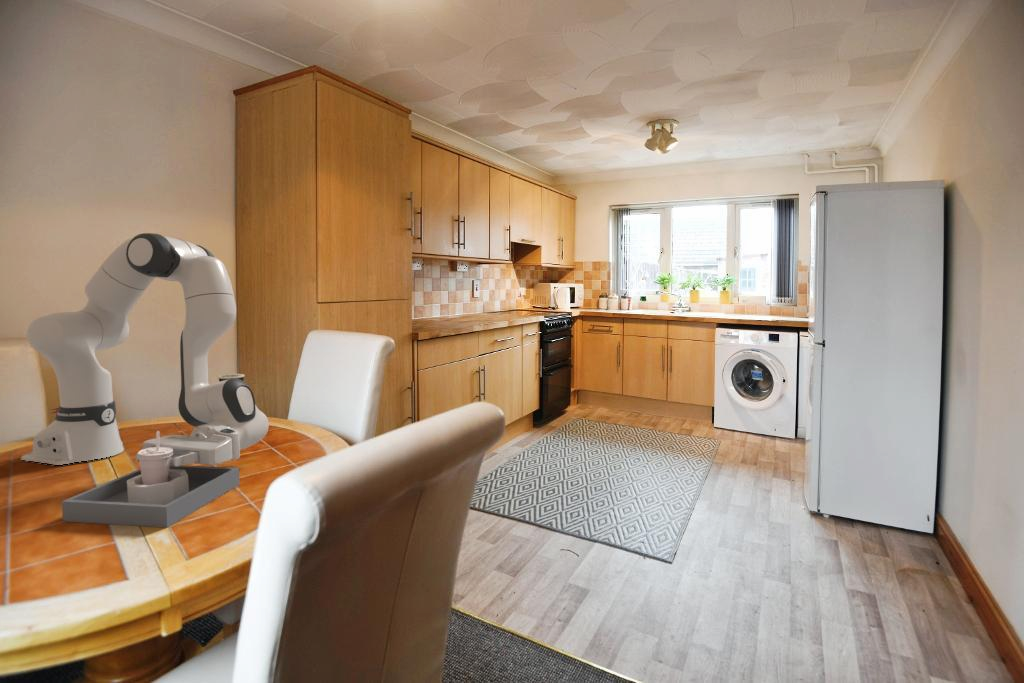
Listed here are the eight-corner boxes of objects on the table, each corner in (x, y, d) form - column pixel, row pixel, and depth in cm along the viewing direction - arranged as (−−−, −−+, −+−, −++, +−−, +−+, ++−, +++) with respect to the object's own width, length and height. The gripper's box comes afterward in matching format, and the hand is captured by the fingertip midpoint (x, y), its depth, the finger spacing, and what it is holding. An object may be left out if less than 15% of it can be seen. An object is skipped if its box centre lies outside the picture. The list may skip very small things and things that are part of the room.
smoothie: (154, 502, 107) (155, 436, 106) (128, 498, 109) (129, 432, 108) (179, 491, 114) (181, 429, 113) (155, 487, 115) (156, 425, 114)
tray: (63, 521, 101) (61, 495, 100) (152, 480, 123) (151, 458, 122) (167, 527, 99) (165, 501, 98) (239, 484, 120) (238, 462, 120)
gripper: (174, 425, 125) (117, 441, 112) (244, 432, 120) (192, 450, 106) (176, 450, 126) (119, 469, 113) (245, 459, 120) (193, 480, 107)
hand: (155, 460), depth 109 cm, fingers open, 8 cm apart
